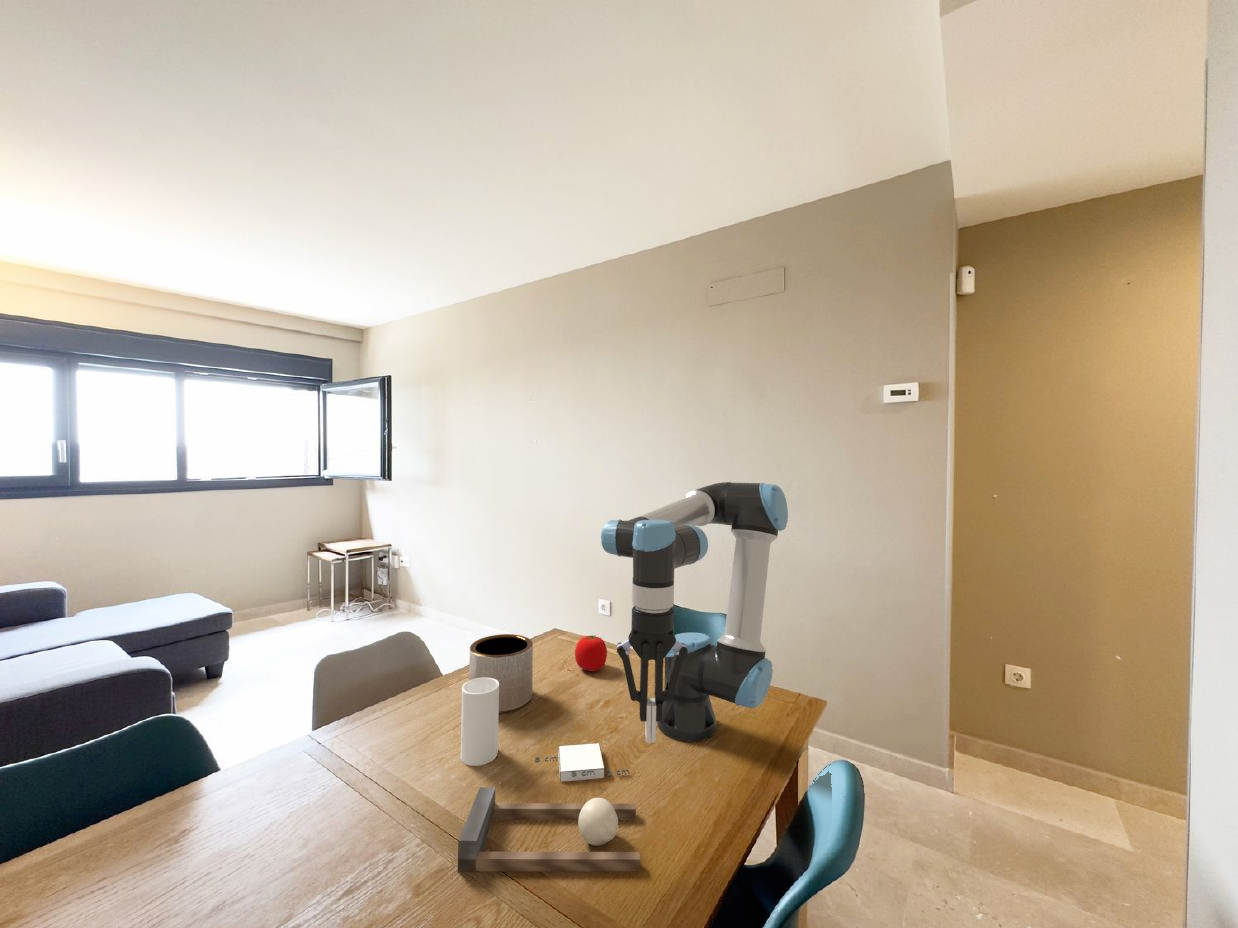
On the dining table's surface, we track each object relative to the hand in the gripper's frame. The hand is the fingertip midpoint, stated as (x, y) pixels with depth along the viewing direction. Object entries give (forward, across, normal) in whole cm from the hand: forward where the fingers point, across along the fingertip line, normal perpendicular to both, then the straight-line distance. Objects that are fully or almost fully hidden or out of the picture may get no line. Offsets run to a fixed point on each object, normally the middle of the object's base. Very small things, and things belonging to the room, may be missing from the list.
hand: (650, 737), depth 85 cm
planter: (+19, +38, -51) cm, 66 cm away
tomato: (+19, +13, -72) cm, 75 cm away
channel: (+18, +17, 0) cm, 25 cm away
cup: (+19, +37, -25) cm, 48 cm away
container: (+19, +13, -20) cm, 31 cm away
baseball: (+19, +9, 0) cm, 21 cm away
